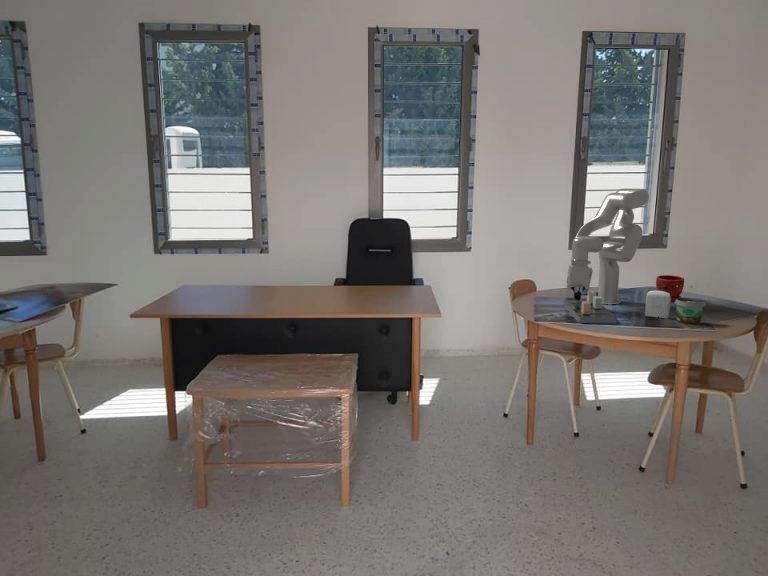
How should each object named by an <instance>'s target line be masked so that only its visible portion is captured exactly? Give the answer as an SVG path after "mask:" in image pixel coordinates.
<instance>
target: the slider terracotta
mask: <svg viewBox="0 0 768 576" xmlns="http://www.w3.org/2000/svg"><path fill="white" fill-rule="evenodd" d="M590 310H591V303H590V302H589V301H587V300H584V301H582V304H581V312H582V313H583V314H590Z"/></svg>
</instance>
